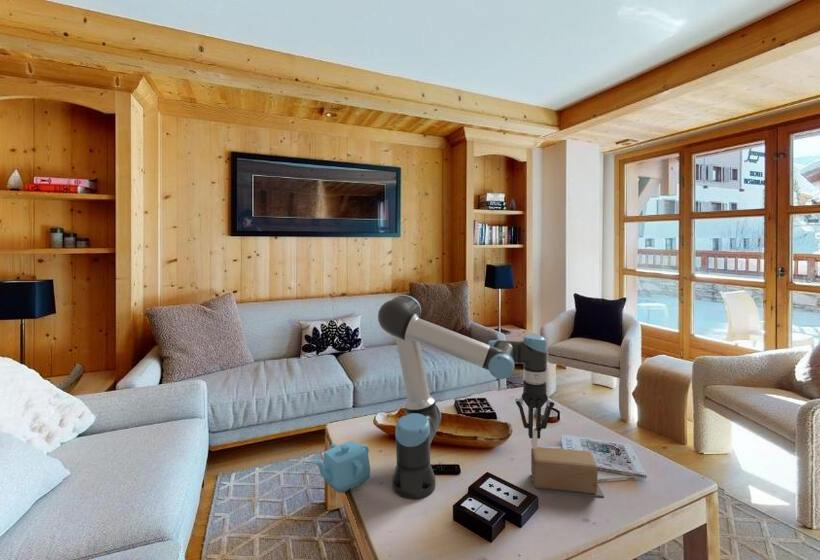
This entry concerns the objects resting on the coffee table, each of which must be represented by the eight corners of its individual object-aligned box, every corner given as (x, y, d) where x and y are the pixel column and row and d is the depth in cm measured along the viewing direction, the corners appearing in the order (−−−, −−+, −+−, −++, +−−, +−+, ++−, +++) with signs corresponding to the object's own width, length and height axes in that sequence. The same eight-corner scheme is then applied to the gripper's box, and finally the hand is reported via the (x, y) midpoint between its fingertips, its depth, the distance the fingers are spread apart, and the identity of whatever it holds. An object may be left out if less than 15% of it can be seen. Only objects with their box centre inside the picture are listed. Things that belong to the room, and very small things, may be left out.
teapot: (333, 466, 147) (332, 432, 146) (375, 469, 144) (374, 435, 143) (313, 497, 129) (311, 459, 128) (360, 502, 126) (358, 463, 125)
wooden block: (533, 488, 131) (597, 495, 127) (534, 460, 130) (598, 466, 126) (530, 471, 140) (590, 477, 136) (531, 445, 139) (590, 450, 135)
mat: (540, 492, 129) (540, 491, 129) (532, 466, 144) (532, 465, 144) (603, 497, 126) (603, 495, 126) (589, 470, 141) (589, 468, 141)
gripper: (516, 384, 129) (516, 451, 132) (557, 385, 127) (556, 453, 130) (513, 376, 137) (513, 440, 139) (552, 377, 135) (551, 442, 137)
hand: (534, 446), depth 134 cm, fingers closed
